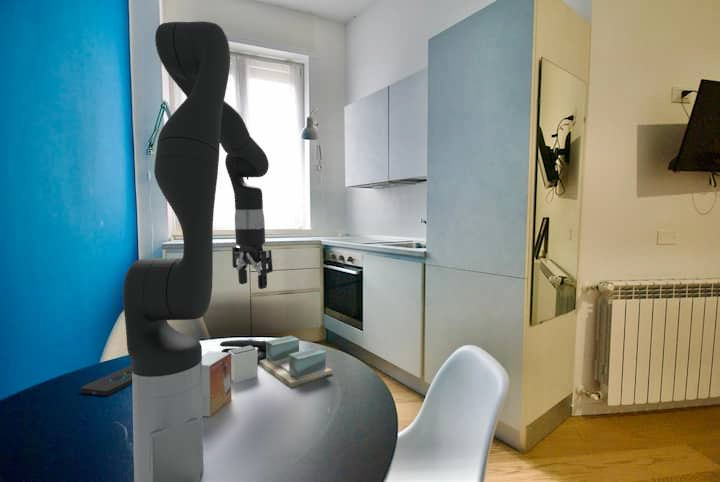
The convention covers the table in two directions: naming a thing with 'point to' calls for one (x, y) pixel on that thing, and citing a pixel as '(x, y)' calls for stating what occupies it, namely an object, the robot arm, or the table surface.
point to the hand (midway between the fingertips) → (252, 285)
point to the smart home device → (110, 383)
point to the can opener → (242, 343)
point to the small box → (215, 381)
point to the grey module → (244, 363)
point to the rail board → (294, 361)
